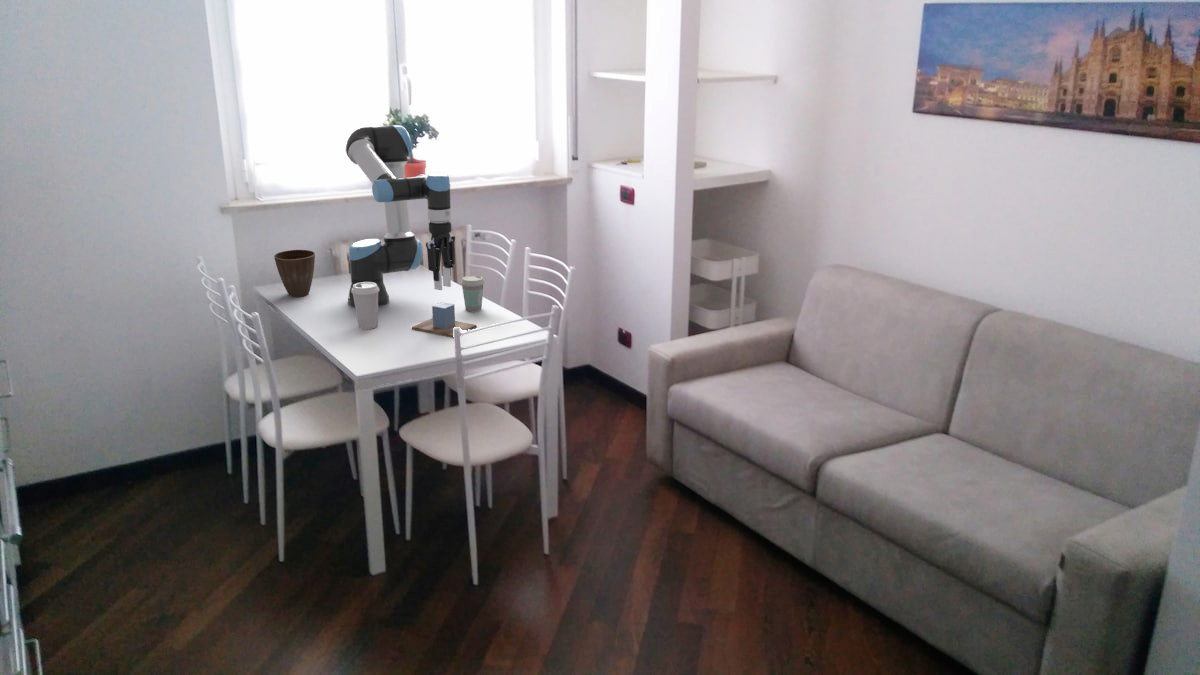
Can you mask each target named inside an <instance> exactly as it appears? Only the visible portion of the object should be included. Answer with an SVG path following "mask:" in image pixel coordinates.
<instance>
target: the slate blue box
mask: <svg viewBox="0 0 1200 675" xmlns="http://www.w3.org/2000/svg"><path fill="white" fill-rule="evenodd" d="M431 307H432V308H431V310H432V318H433V327H436V328H441V329H448V328H450V327H452V326H454V325H455V321H456V315H455V313H456V309H455V304H454V303H449V302H445V301H444V302H443V301H441V302H439V303H436V304H433V305H431Z"/></svg>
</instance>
